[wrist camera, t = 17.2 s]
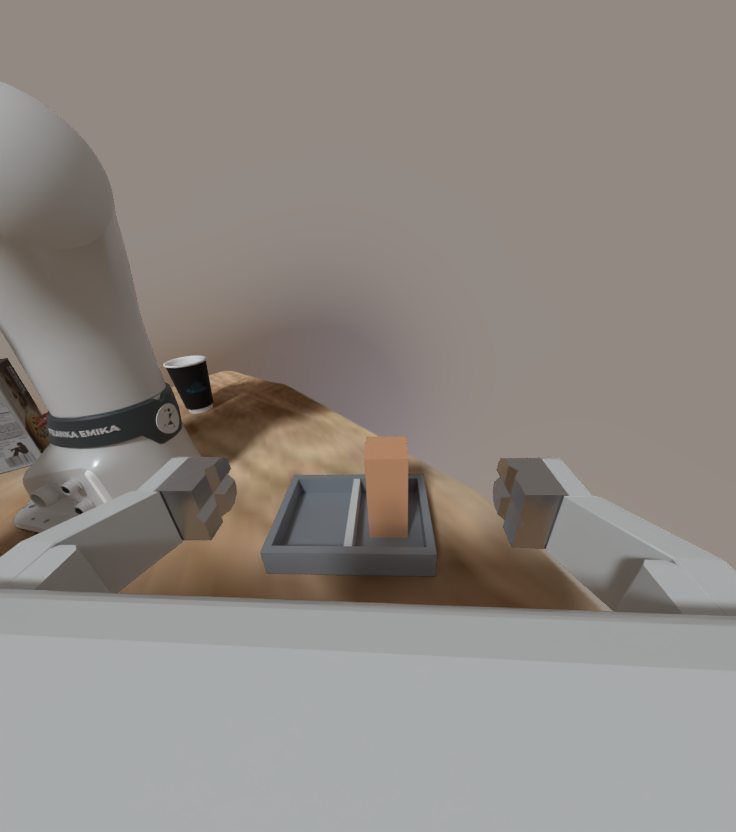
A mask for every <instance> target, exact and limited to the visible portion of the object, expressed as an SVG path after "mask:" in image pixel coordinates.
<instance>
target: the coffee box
mask: <svg viewBox="0 0 736 832" xmlns="http://www.w3.org/2000/svg"><path fill="white" fill-rule="evenodd" d="M41 415H42V414H41V412H40V411H39V409H38V407H37V406H36V404H35V402H34V401H33V399H32V397H31V396H30V394H29V392H28V391H27V389H26V388H25V386H24V384H23V383H22V381H21V380H20V378H19V376H18V375H17V373H16V371H15V370H14V368H13V367H12V365H11V363H10V362H9V360H8V358H5V359H0V474H1V473H5V472H9V471H12V470H16V469H20V468H23V467H27V466H31V465H32V464H33V463H34V462H35V461H36V460H37V459H38V457H39V456H40V455H41V454H42V453H43V451H44V450H45V449H46V448H47V447H48V446H49V444H50V439H49V433H48V426H47V424H46V425H44V426H42V427H40V428H36V427H35V426H37V425H38V424H39V423H40V422H42V421H44V420H45V419H44V418H42V419H39V420H36V421H31V420H32V419H34V418H36V417H39V416H41Z"/></svg>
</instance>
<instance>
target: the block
mask: <svg viewBox="0 0 736 832" xmlns="http://www.w3.org/2000/svg"><path fill="white" fill-rule="evenodd" d="M364 464H365V478H366V492H367V506H368V521H369V535H370V537H376V538H408V452H407V443H406V437H405V436H398V437H397V436H394V437H367V438H366V447H365V457H364Z"/></svg>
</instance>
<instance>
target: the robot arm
mask: <svg viewBox="0 0 736 832" xmlns="http://www.w3.org/2000/svg"><path fill="white" fill-rule="evenodd" d="M0 330H1V331H2V333H3V335H4V337H5V338H6V340H7V341H8V343H9V345H10V346H11V348H12V350H13V351H14V353H15V355H16V356H17V358H18V360H19V361H20V363H21V365H22V367H23V368H24V370H25V372H26V373H27V375H28V377H29V379H30V380H31V382H32V384H33V385H34V387H35V389H36V390H37V392H38V394H39V395H40V397H41V399H42V400H43V402H44V404H45V406H46V407H47V409H48V413H45V414H43V415H41V416H39V417H36V418H34V419H32V420H31V421H36V420H39V419H42V418H45V417H46V419H45V420H44V421H42V422H40V423H39V424H38V425H37V426H35V427H36V428H40V427H42V426H44V425H46V424H47V426H48V433H49V439H50V444H49V446H48V447H47V448H46V449H45V450H44V451H43V453H42V454H41V455H40V456H39V457H38V459H37V460H36V461H35V462H34V463H33V464H32V465H31V466H30V467H29V469H28V470H27V471H26V472H25V474H24V477H23V484H24V487H25V489H26V490H27V492H28V494H29V496H30V499H31V501H30V502H29V503H27V504H26V505H25V506H24V507H23V508H22V509H21V510H20V511H19V512H18V514H17V515H16V516H15V518H14V520H13V522H14V524H15V526H16V527H18V528H22V529H26V530H30V531H34V532H39V534H36V535H34V536H32V537H30V538H28V539H26V540H23V541H21V542H19V543H18V544H17V545H16V546H14V547H13V548H12V549H10V550H9V551H8V552H6V553H5V554H4V555H3V556H1V557H0V832H736V571H735V570H734V569H733V568H731V567H730V566H729V565H728V564H727V563H726V562H725V561H724V560H722V559H720V558H718V557H716V556H714V555H712V554H710V553H708V552H706V551H704V550H702V549H700V548H699V547H697V546H695V545H693V544H691V543H689V542H687V541H685V540H683V539H681V538H679V537H677V536H675V535H673V534H671V533H669V532H667V531H665V530H663V529H661V528H659V527H658V526H656V525H654V524H652V523H650V522H648V521H646V520H644V519H642V518H640V517H638V516H636V515H634V514H632V513H630V512H628V511H626V510H624V509H623V508H621V507H618V506H617V505H615V504H613V503H611V502H609V501H607V500H605V499H603V498H601V497H599V496H592V495H591V494H590V493H589V492H588V490H587V489H586V488H585V487H584V486H583V485H582V483H581V482H580V481H579V480H578V479H577V478H576V476H575V475H574V474H573V473H572V472H571V471H570V470H569V468H568V467H567V466H566V465H565V464H564V463H563V461H562V460H561V459H559V458H557V457H541V458H540V457H539V458H501V459H500V460H499V462H498V466H497V471H498V473H499V475H500V478H498V479H497V480H496V481H495V482H494V488H493V501H494V505H495V509H496V511H497V514H498V515H499V516H500V517H502V518H503V519H504V520H505V521H504V526H503V528H504V530H505V533H506V535H507V537H508V539H509V542H510V544H511V546H512V547H515V548H535V549H546V550H545V551H546V552H548V553H549V554H550V555H551V556H552V557H553V558H554V559H555V560H556V561H558V562H559V563H560V564H561V565H562V566H563V567H564V568H565V569H567V570H568V571H569V572H570V573H571V574H572V575H573V576H575V577H576V578H577V579H578V580H579V581H580V582H581V583H582V584H583V585H584V586H586V587H587V588H588V589H589V590H590V591H591V592H592V593H593V594H595V595H596V596H597V597H598V598H599V599H600V600H601V601H602V602H604V603H605V604H606V605H607V606H608V607H609V608H610V609H611V610H613V611H614V612H609V611H582V610H556V609H529V608H503V607H476V606H450V605H423V604H396V603H369V602H342V601H315V600H288V599H262V598H236V597H210V596H184V595H157V594H130V593H118V592H119V591H120V590H121V589H123V588H124V587H125V586H127V585H128V584H129V583H130V582H132V581H133V580H134V579H136V578H137V577H138V576H139V575H141V574H142V573H143V572H145V571H146V570H147V569H148V568H150V567H151V566H152V565H154V564H155V563H156V562H157V561H159V560H160V559H161V558H163V557H164V556H165V555H167V554H168V553H169V552H170V551H172V550H173V549H174V548H176V547H177V546H178V545H179V544H181V543H182V542H183V541H182V540H212V538H213V537H214V535H215V534H216V532H217V531H218V529H219V527H220V526H221V524H222V523H223V520H222V516H223V515H224V514H226V513H227V512H229V511H230V510H231V508H232V507H233V505H234V503H235V499H236V495H237V489H236V484H235V480H234V479H233V478H231V477H230V476H229V475H228V473H229V471H230V469H231V468H230V465H229V462H228V460H227V459H225V458H223V457H202V456H201V454H200V453H199V451H198V449H197V448H196V446H195V445H194V443H193V441H192V440H191V438H190V436H189V434H188V432H187V431H186V429H185V427H184V425H183V424H182V422H181V416H180V411H179V406H178V404H177V401H176V399H175V396H174V393H173V391H172V389H171V387H170V385H169V384H167V383H165V381H164V379H163V376H162V373H161V371H160V368H159V365H158V363H157V360H156V357H155V355H154V352H153V349H152V347H151V344H150V341H149V339H148V336H147V334H146V331H145V328H144V324H143V322H142V318H141V314H140V311H139V307H138V302H137V297H136V292H135V288H134V283H133V278H132V274H131V270H130V266H129V262H128V258H127V254H126V250H125V247H124V243H123V239H122V235H121V232H120V228H119V225H118V221H117V217H116V212H115V206H114V199H113V194H112V189H111V186H110V183H109V180H108V177H107V175H106V173H105V170H104V169H103V167H102V165H101V163H100V161H99V160H98V158H97V156H96V155H95V153H94V152H93V151H92V149H91V148H90V147H89V145H88V144H87V143H86V142H85V141H84V139H83V138H82V137H81V136H80V135H79V134H78V133H77V132H76V131H75V130H74V129H73V128H72V127H71V126H70V125H69V124H68V123H67V122H66V121H65V120H64V119H62V118H61V117H60V116H59V115H58V114H56V113H55V112H54V111H52V110H51V109H50V108H49V107H47V106H46V105H44V104H43V103H41V102H40V101H38V100H36V99H35V98H33V97H32V96H30V95H28V94H26V93H24V92H23V91H21V90H19V89H17V88H15V87H12V86H10V85H8V84H5V83H3V82H0Z"/></svg>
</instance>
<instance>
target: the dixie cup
mask: <svg viewBox="0 0 736 832" xmlns="http://www.w3.org/2000/svg"><path fill="white" fill-rule="evenodd" d="M206 359H207V358H206V357H205V356H186V357H181V358H176V359H173V360H170V361H167V362H165V363H164V364H163V366H164V367H166V369H167V371H168V373H169V375H170V377H171V379H172V380H173V383H174V385H175V387H176V389H177V391H178V393H179V395H180V396H181V398H182V400H183V402H184V404H185V406H186V408H187V409H188V410H189V412H190V413H193V414H197V413H203V412H206V411H208V410H210V409H212V408H213V398H212V392H211V387H210V381H209V376H208V370H207V365H206Z"/></svg>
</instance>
